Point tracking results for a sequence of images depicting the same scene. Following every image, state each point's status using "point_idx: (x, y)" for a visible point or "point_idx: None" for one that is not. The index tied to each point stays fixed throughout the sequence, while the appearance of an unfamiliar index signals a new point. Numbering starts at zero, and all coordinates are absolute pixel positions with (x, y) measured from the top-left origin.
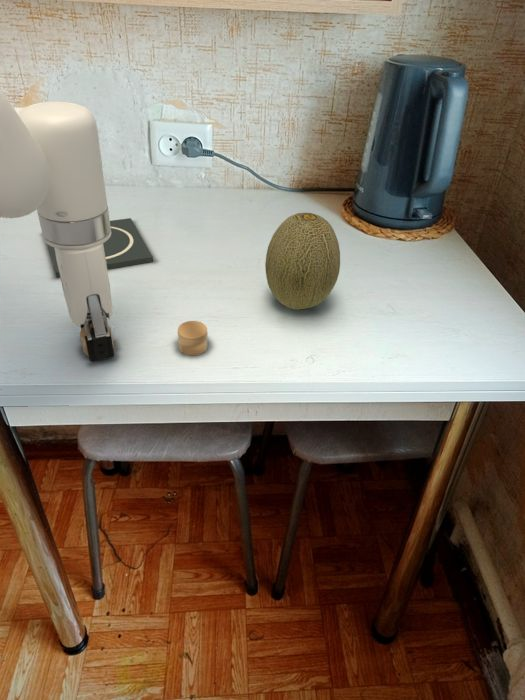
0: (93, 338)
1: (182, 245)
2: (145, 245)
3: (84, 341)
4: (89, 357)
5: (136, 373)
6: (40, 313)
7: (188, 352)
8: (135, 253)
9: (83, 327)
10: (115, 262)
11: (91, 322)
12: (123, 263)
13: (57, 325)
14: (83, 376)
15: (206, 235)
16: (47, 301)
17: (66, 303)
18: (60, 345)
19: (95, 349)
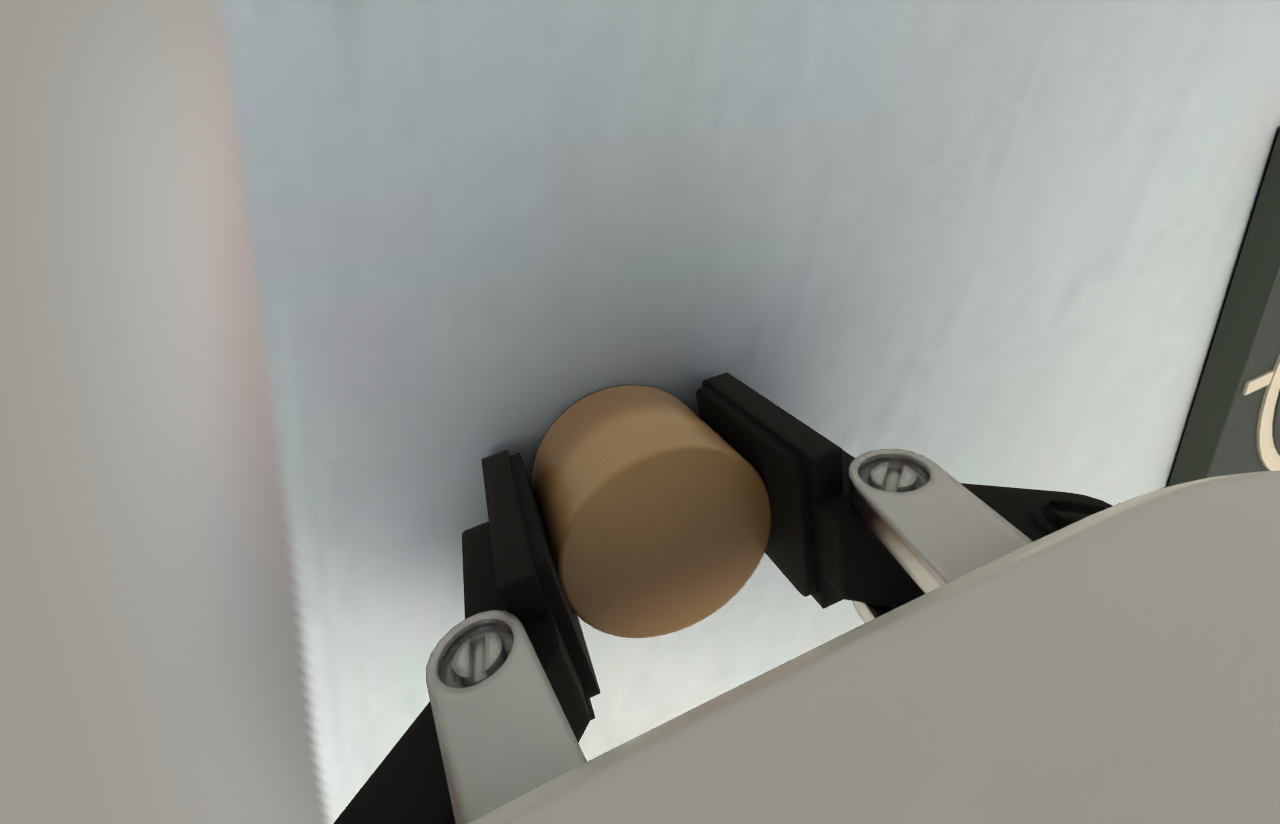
0: (396, 749)
1: None
2: None
3: (579, 480)
4: (484, 473)
5: (390, 688)
6: (1040, 40)
7: None
8: None
9: (730, 459)
10: (1223, 431)
11: (773, 503)
12: (1198, 457)
13: (892, 176)
14: (341, 427)
15: None
16: (1125, 83)
17: (905, 674)
18: (690, 222)
19: (467, 580)
